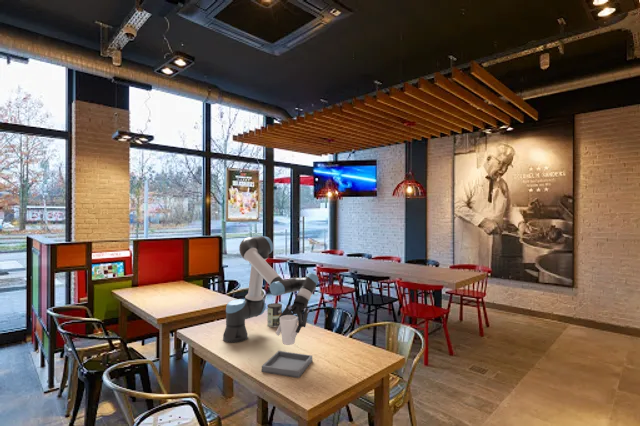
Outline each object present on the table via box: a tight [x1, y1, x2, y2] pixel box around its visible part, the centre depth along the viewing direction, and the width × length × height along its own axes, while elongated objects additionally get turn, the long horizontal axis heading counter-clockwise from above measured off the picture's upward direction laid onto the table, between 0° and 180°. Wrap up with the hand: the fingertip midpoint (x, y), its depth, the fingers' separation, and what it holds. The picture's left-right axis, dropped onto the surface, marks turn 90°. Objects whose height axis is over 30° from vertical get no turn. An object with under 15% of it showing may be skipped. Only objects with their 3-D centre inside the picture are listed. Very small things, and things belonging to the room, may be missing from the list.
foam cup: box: [280, 314, 298, 346], centre depth 181 cm, size 10×9×13 cm
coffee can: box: [266, 302, 283, 328], centre depth 247 cm, size 10×10×14 cm
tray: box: [261, 350, 313, 379], centre depth 181 cm, size 20×20×3 cm
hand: (284, 336), depth 178 cm, fingers closed on foam cup, 9 cm apart
